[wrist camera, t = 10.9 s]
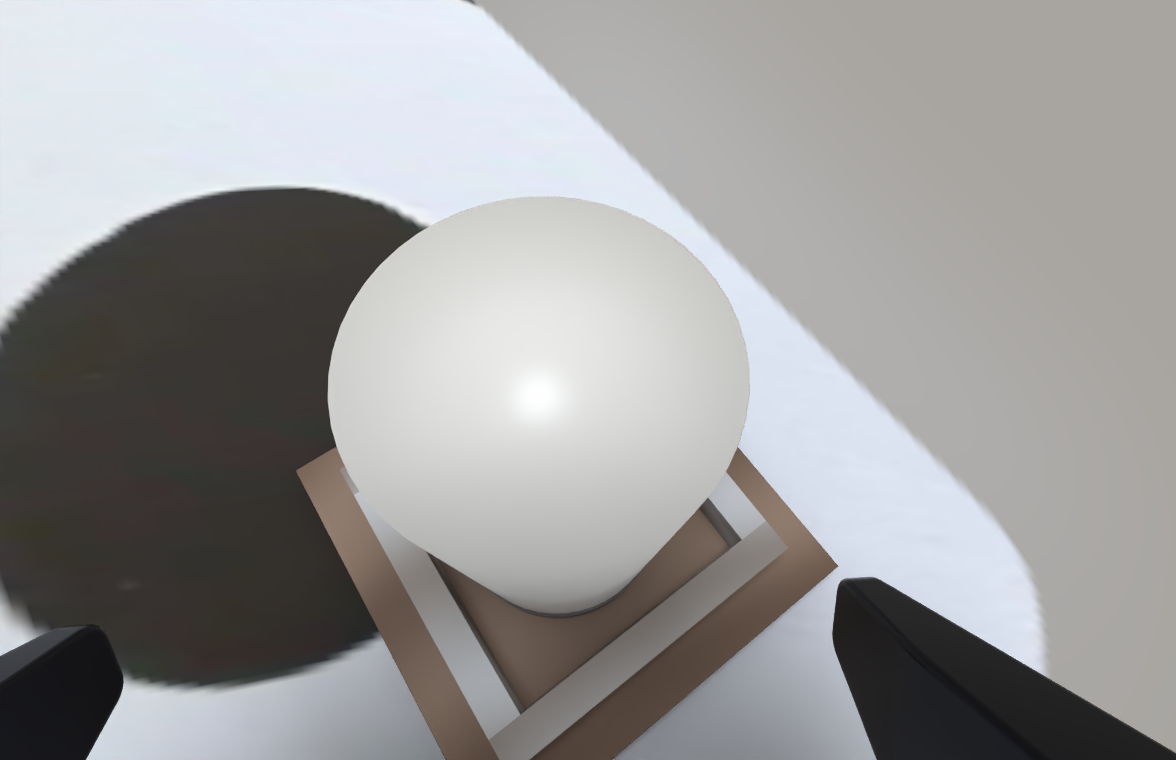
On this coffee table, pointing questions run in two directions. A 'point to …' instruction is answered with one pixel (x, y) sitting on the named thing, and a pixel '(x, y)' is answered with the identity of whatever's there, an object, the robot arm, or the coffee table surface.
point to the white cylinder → (540, 396)
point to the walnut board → (572, 623)
